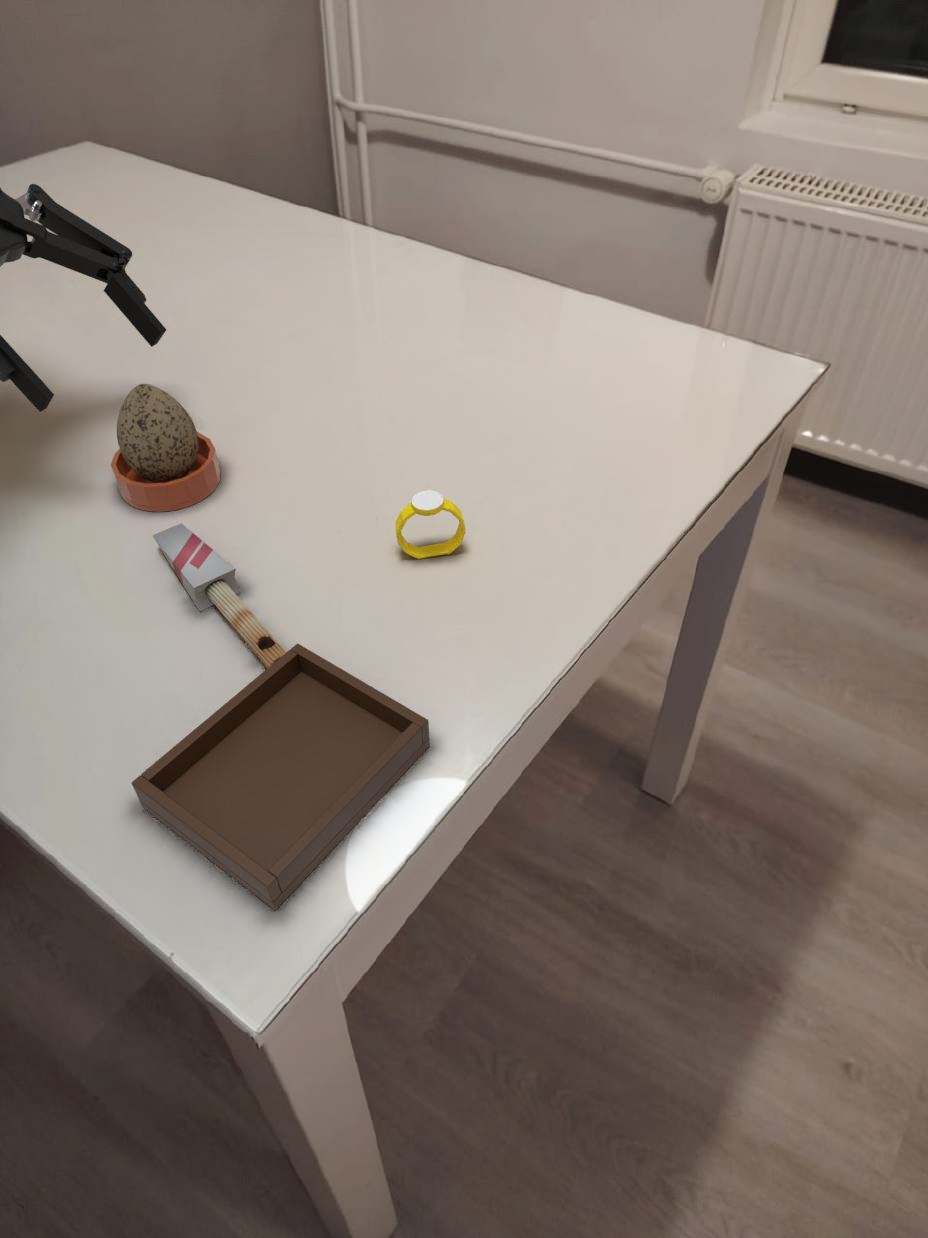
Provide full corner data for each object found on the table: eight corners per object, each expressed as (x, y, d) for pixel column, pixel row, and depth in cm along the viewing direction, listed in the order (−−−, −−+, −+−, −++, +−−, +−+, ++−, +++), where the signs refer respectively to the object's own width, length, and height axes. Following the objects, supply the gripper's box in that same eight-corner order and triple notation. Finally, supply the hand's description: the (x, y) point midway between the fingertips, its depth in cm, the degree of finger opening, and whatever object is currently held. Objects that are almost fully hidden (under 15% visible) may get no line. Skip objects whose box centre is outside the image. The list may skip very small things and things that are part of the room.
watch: (462, 539, 79) (461, 485, 75) (467, 559, 77) (467, 505, 73) (396, 546, 78) (392, 493, 74) (400, 566, 76) (396, 513, 72)
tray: (275, 911, 53) (267, 887, 51) (142, 808, 59) (130, 782, 57) (430, 745, 62) (428, 719, 60) (302, 669, 68) (297, 642, 66)
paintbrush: (183, 507, 77) (299, 642, 67) (190, 531, 79) (303, 665, 69) (142, 524, 76) (254, 665, 65) (150, 547, 77) (259, 688, 67)
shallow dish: (111, 514, 82) (101, 488, 80) (130, 456, 88) (122, 431, 86) (214, 509, 82) (207, 483, 80) (225, 451, 89) (219, 426, 87)
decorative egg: (157, 508, 81) (127, 415, 74) (117, 477, 85) (85, 386, 78) (221, 476, 85) (198, 384, 78) (180, 447, 88) (155, 357, 81)
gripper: (34, 153, 85) (185, 333, 90) (-216, 242, 69) (-16, 453, 75) (54, 99, 79) (214, 294, 84) (-214, 182, 64) (2, 415, 69)
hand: (106, 369), depth 79 cm, fingers open, 13 cm apart
